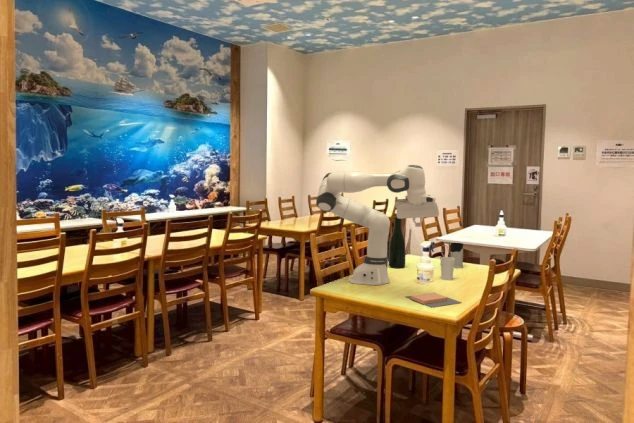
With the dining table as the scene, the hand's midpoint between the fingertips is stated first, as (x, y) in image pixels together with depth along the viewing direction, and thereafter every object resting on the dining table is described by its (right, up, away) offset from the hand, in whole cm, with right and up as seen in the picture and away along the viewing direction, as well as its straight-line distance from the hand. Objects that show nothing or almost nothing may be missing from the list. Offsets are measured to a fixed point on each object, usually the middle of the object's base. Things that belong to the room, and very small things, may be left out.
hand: (418, 226), depth 245 cm
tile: (-2, -35, -7) cm, 35 cm away
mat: (+7, -35, -2) cm, 36 cm away
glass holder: (+37, -28, +76) cm, 89 cm away
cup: (+25, -31, +42) cm, 58 cm away
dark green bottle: (+1, -28, +74) cm, 80 cm away
